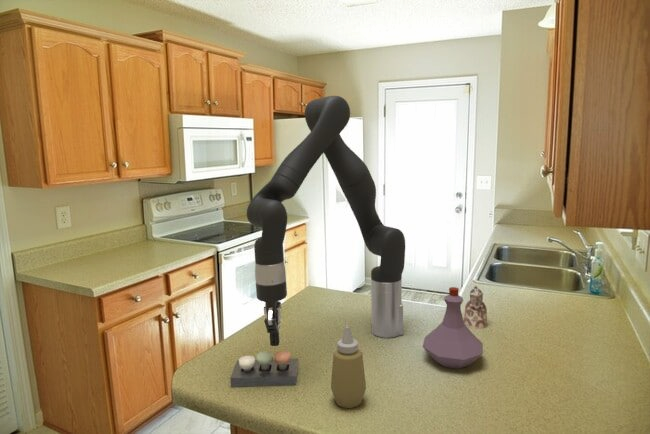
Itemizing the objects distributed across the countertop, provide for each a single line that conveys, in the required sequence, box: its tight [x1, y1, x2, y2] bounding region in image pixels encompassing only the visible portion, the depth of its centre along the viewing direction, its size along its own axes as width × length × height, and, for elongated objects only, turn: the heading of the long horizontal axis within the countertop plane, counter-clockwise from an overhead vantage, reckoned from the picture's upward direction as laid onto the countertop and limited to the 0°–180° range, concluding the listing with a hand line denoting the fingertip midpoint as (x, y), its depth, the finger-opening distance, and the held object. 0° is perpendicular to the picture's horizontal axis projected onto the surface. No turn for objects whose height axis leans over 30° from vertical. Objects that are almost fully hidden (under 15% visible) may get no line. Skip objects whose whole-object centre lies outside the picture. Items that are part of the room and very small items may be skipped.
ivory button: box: [238, 355, 256, 372], centre depth 113 cm, size 4×4×4 cm
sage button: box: [256, 350, 274, 371], centre depth 113 cm, size 4×4×4 cm
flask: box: [422, 286, 484, 370], centre depth 118 cm, size 16×16×20 cm
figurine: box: [463, 285, 488, 330], centre depth 142 cm, size 7×7×12 cm
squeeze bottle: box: [330, 325, 367, 409], centre depth 100 cm, size 8×8×18 cm
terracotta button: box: [273, 350, 291, 370], centre depth 113 cm, size 4×4×4 cm
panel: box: [229, 358, 299, 388], centre depth 114 cm, size 16×9×2 cm, turn 90°
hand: (275, 344), depth 113 cm, fingers closed
